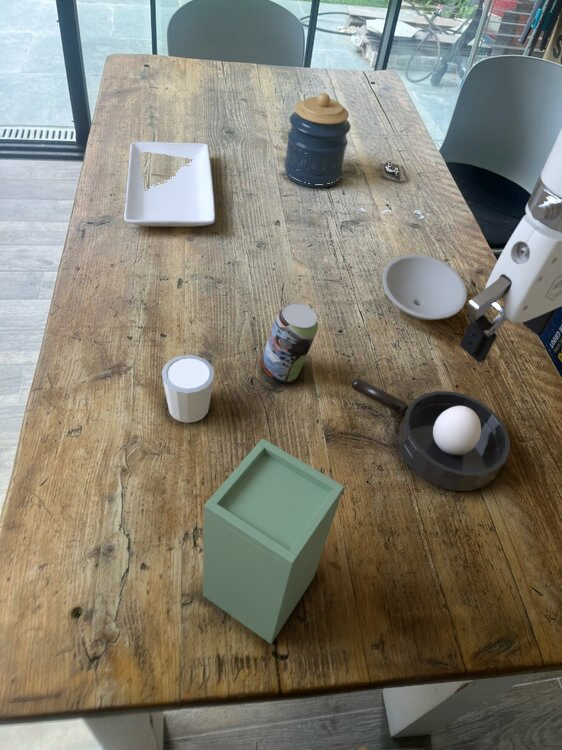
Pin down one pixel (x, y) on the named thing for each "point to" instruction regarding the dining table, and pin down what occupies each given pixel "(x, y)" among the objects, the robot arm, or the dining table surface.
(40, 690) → the dining table surface
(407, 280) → the dish
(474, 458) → the pan
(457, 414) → the egg
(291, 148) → the canister
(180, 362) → the white cylinder
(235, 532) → the stand
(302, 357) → the beverage can
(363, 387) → the pan handle
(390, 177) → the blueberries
